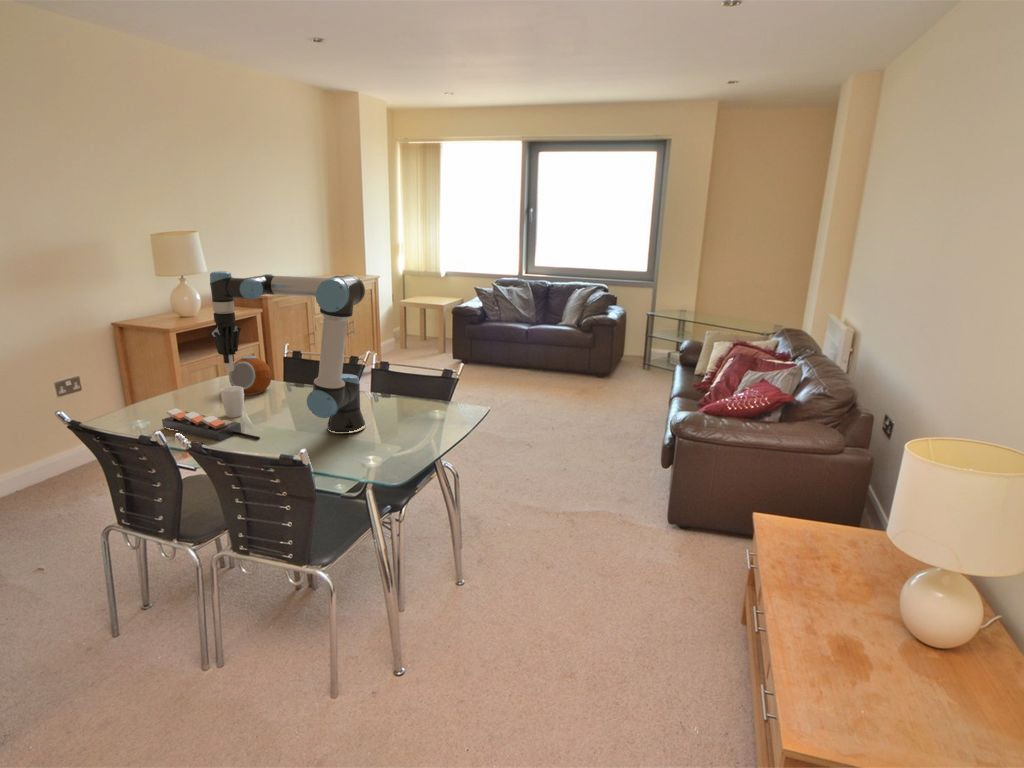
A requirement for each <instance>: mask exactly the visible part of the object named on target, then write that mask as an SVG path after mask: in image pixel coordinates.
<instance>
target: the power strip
mask: <svg viewBox="0 0 1024 768" xmlns="http://www.w3.org/2000/svg"><path fill="white" fill-rule="evenodd" d="M184 412H185V413H187V414H188V413H191V412H190V411H184ZM198 414H199V415H201V416H203V417H205V418H206V417H208V416H209V415H204V414H200V413H198ZM217 418H218V417H217ZM218 419H220V420H222V421H224V422H225V425H224V426H221V427H218V428H216V429H215V428H213V427H212V426H210V425H208V424H206V423H201V424H198V425H197V424H195V423H193V422H191V421H190V420H188V419H183V420H180V421H179V420H177V419H175V418H174V417H172V416H168V417H166V418H162V419H161V421H162V422H161V423H162V428H163V427H166V428H170V429H174V430H178V431H177V432H176V433H181V434H184V435H189V436H192V437H198V438H199V437H200V438H201V439H202V438H203V439H207V440H212V441H216V442H221V441H224V440H226V439H229V438H232V437H233V436H239V437H245V438H250V439H253V440H258V441H259V440H260V438H261V437H260V436H257V435H253V434H249V433H244V432H242V426H241V422H237V421H232V420H229V419H223V418H218ZM182 432H183V433H182Z"/></svg>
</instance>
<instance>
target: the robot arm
mask: <svg viewBox="0 0 1024 768" xmlns="http://www.w3.org/2000/svg"><path fill="white" fill-rule="evenodd" d="M209 287H210V293H211V301H212V302H211V303H212V311H213V322H214V323H215V329H214V330H213V331H210V335H211V336H212V338H213V341H214V344H215V348H216V350H217V353H218V355H222V356H223V358H222V359H223V362H224V365H225V371H226V372H227V371H228V372H230V371H234V365H233V364H234V363H235V355H236V353H237V352H238V351H239V338H240V332H241V330H242V328H241V327H238V326H237V325H236V323H235V322H236V313H235V302H234V301H235V300H234V298H235V299H236V298H237V299H246V300H257V299H259V298H261V296H265V295H269V296H270V295H272V296H276V295H278V296H291V297H292V296H294V297H315V301H316V304H318V307H319V314H321V315H322V316H323V323H322V330H321V331H322V333H321V345H320V354H319V355H320V356H319V364H318V365H319V366H318V374H317V375H318V376H317V377H316V378H315V379H314V380H313V385H312V386H313V388H312V391H310V393H308V395H307V397H306V405H307V408H308V410H309V411H310V412H311V414H313V415H314V416H316V417H318V418H321V419H328V422H327V430H328V429H329V430H331V431H335V432H349V431H354V430H357V429H359V428H361V427H362V426H364V425H365V426H366V421H365V419H364V416H363V413H362V411H361V392H360V390H361V389H360V387H361V386H360V385H361V384H360V378H359V376H357V375H355V374H351V373H343V369H344V359H345V348H346V337H347V329H348V321H349V319H350V318H351V317H353V312H354V306H357V305H358V304H359V303H361V301H362V300H363V299H364V297H365V294H366V287H365V284H364V283H363V281H362V279H360V278H359V277H358V276H356V275H353V274H344V275H333V276H332V277H317V276H316V277H313V276H312V277H311V276H289V275H287V276H285V275H275V274H271V273H270V274H263V275H256V276H250V277H245V278H244V277H243V278H242V277H241V278H240V277H233V276H232V273H231V272H230V271H226V270H225V271H224V270H218V271H212V272H210V273H209Z"/></svg>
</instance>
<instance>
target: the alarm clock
mask: <svg viewBox="0 0 1024 768" xmlns="http://www.w3.org/2000/svg"><path fill="white" fill-rule="evenodd" d="M233 365H234V371H229V373H228V377H229V382H230V384H231V385H230V386H241V387H243V391H244V395H257V394H260V393H261V392H262V393H264V392H265V391H266V390H267V389H268V388H269V386H270V385H271V381H272V370H271V368H270V366H269V365H268V364H267V363H266V362H265V361H264V360H263V359H261V358H259V357H256V356H255V355H244V356H243V357H242V358H240V359H238V360H236V361H234V362H233ZM263 391H264V392H263ZM262 393H261V394H262Z"/></svg>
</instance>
